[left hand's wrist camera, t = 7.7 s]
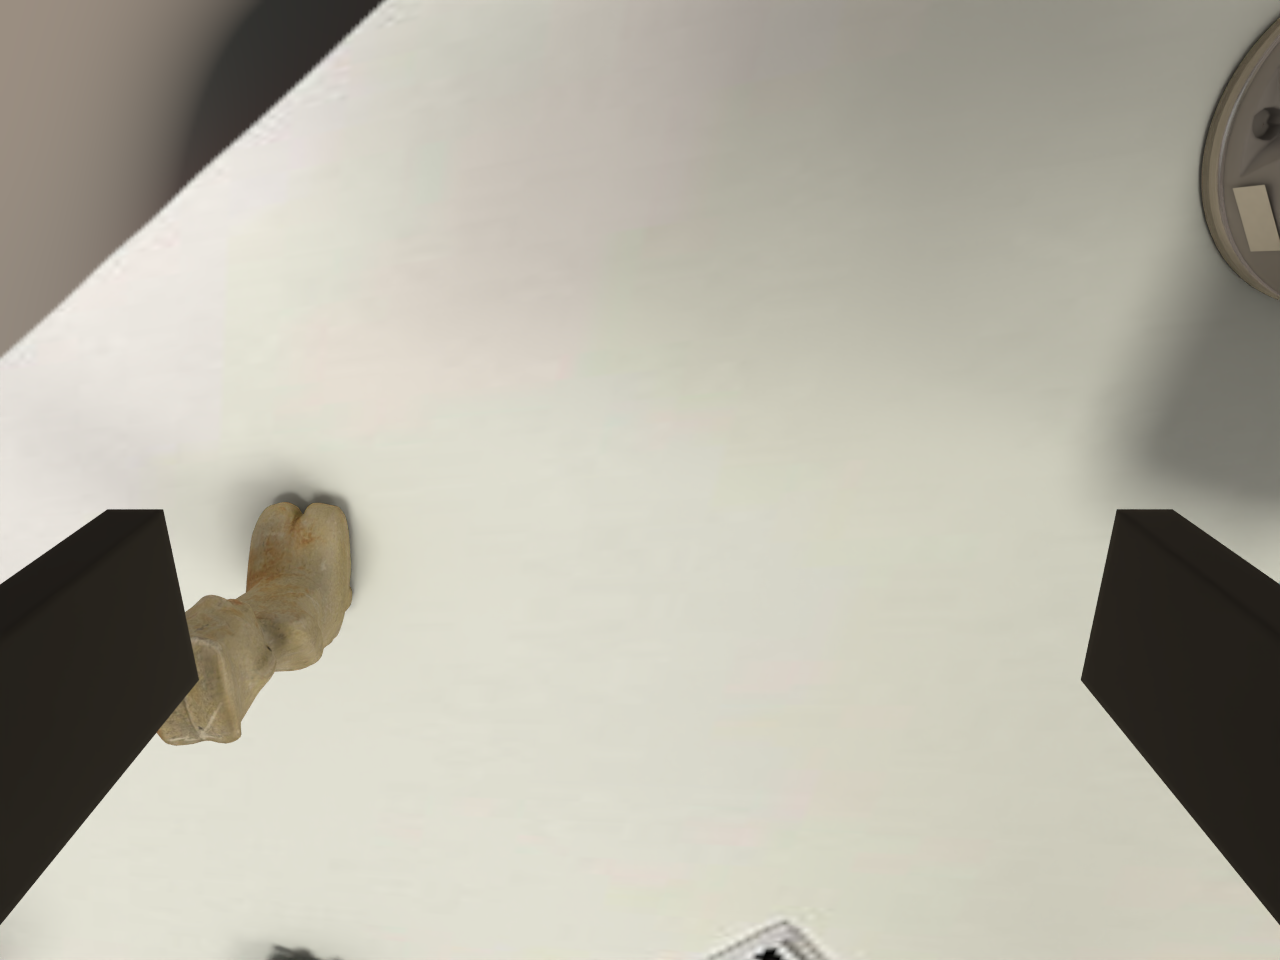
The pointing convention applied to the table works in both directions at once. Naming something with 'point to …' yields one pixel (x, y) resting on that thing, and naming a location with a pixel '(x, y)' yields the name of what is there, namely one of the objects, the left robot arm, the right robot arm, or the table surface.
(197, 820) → the table surface
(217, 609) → the sculpture
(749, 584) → the table surface
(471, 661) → the table surface
